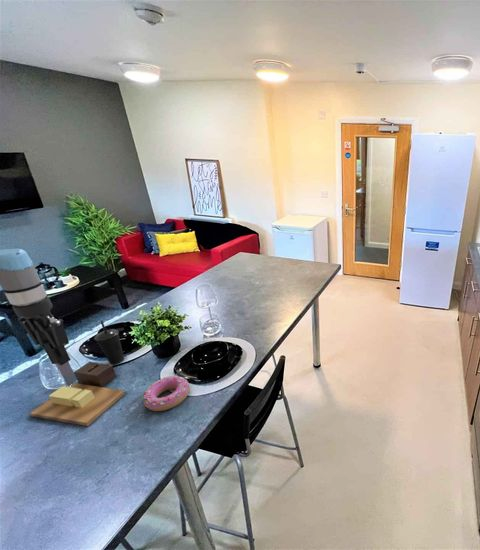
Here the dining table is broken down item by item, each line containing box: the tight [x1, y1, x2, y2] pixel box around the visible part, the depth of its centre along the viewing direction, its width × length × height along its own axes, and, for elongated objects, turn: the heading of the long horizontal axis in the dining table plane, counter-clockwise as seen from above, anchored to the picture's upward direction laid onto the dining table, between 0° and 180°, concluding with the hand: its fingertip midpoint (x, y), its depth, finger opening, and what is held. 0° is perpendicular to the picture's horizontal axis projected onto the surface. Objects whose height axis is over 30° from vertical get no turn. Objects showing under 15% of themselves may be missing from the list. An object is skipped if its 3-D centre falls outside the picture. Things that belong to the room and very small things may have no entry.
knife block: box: [73, 361, 117, 388], centre depth 113 cm, size 10×6×6 cm, turn 82°
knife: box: [43, 340, 78, 387], centre depth 96 cm, size 2×3×18 cm
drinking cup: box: [94, 320, 125, 365], centre depth 120 cm, size 8×8×20 cm
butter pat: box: [72, 390, 95, 408], centre depth 102 cm, size 3×5×4 cm, turn 172°
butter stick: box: [48, 385, 83, 406], centre depth 103 cm, size 8×5×4 cm, turn 82°
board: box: [29, 382, 126, 427], centre depth 103 cm, size 22×14×2 cm, turn 82°
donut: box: [141, 375, 190, 412], centre depth 107 cm, size 14×14×5 cm
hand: (61, 361), depth 96 cm, fingers closed on knife, 2 cm apart
